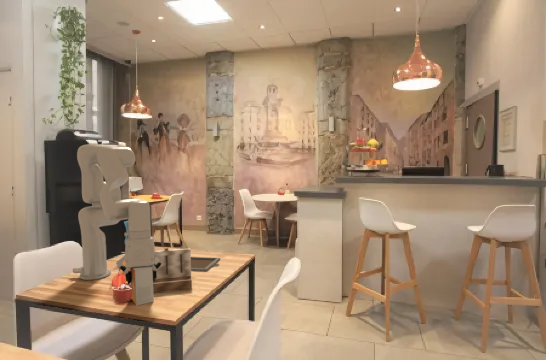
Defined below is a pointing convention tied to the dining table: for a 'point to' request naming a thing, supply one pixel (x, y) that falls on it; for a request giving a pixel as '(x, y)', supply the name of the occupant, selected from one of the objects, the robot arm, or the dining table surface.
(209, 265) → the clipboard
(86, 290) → the dining table surface
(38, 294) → the dining table surface
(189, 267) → the display ledge
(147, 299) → the small box
